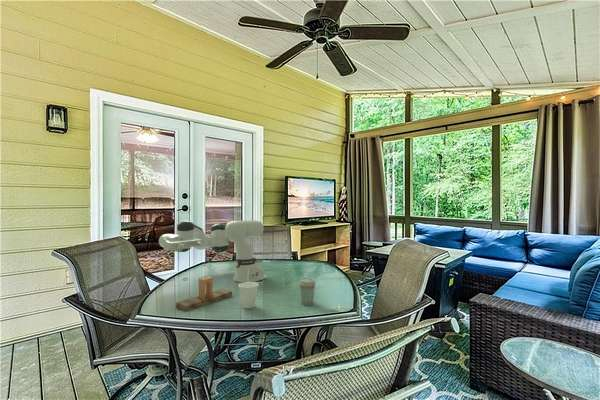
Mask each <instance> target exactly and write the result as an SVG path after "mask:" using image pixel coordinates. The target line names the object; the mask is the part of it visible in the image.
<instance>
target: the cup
mask: <svg viewBox="0 0 600 400" xmlns="http://www.w3.org/2000/svg"><path fill="white" fill-rule="evenodd" d="M238 289H239V294H240V302H241V307H242V308H243V309H246V310H249V309H254V308H255V305H256V301H257V294H258V289H259V282H257V281H255V282H239V283H238Z"/></svg>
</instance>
